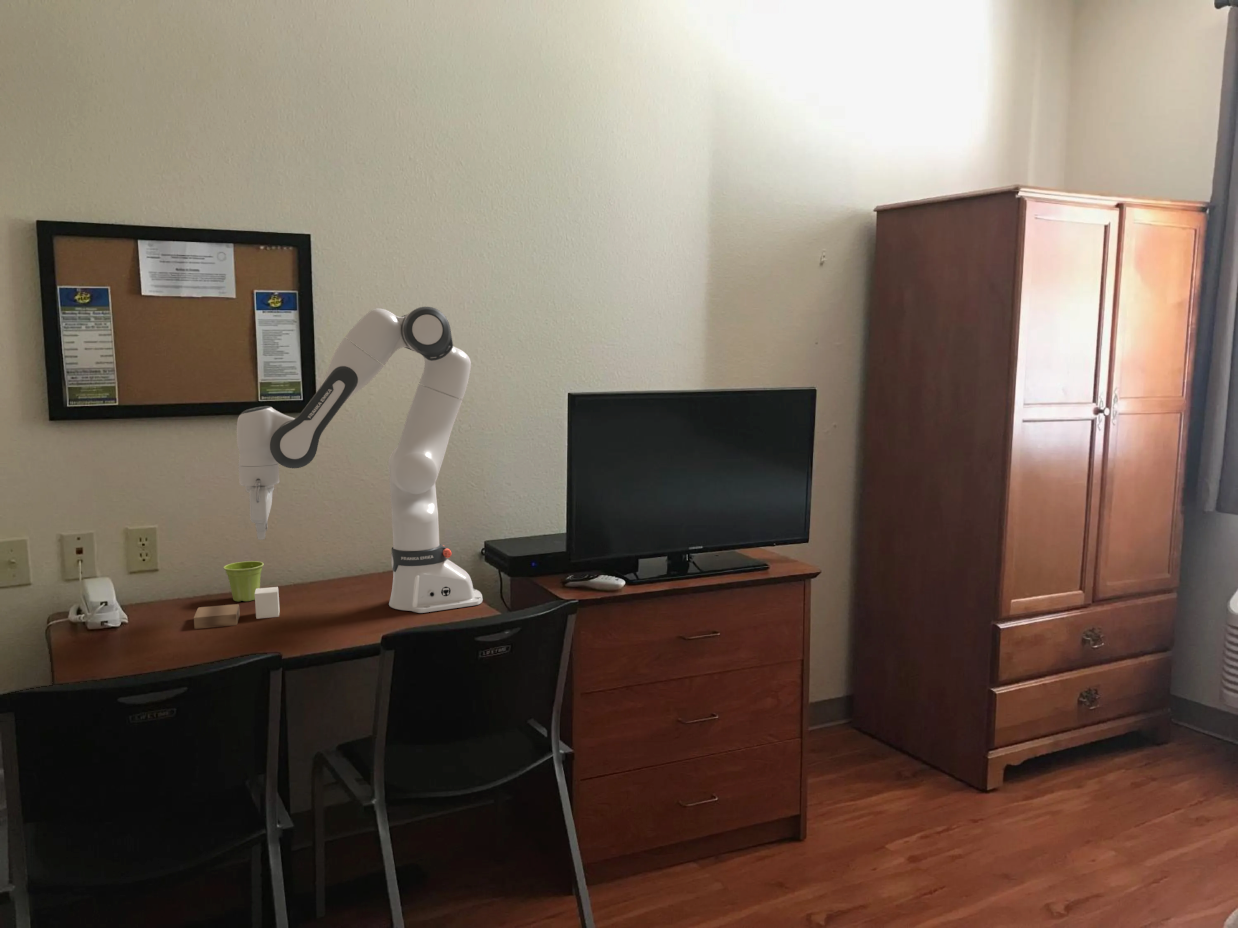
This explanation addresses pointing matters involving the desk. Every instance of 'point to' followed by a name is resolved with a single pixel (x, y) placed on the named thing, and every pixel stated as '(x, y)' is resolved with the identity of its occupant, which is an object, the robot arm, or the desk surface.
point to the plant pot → (244, 579)
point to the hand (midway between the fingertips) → (262, 535)
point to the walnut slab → (216, 616)
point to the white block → (267, 602)
